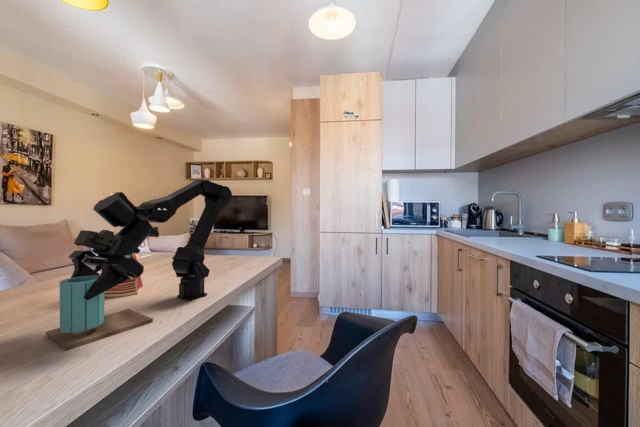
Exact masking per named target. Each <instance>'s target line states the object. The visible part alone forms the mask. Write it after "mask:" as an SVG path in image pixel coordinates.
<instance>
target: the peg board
mask: <svg viewBox="0 0 640 427" xmlns="http://www.w3.org/2000/svg"><path fill="white" fill-rule="evenodd" d="M153 322H154V318H152V317H150V316H148V315H146V314H143V313H140V312H138V311H135V310H132V309H130V308H128V309H125V310H121V311H117V312H113V313H109V314H106V315H105V314H104V322H103V323H102V324H101V325H99V326H97V327H94V328H91V329H88V330H85V331H79V332H73V333H72V332H71V333H65V332H61V331H60V327H57V328H54V329H50V330H46V331H45V335H46V337H48V338H49V339H51V340H52V341H53V342H55V343H56V344H57V345H58V346H59V347H61V348H62V349H64V350H65V351H69V350H72V349H75V348H77V347H80V346H83V345H87V344H89V343H93V342H95V341H99V340H102V339H105V338H108V337H111V336H114V335H117V334H120V333H124V332H125V331H126V332H127V331H129V330H132V329H133V330H134V329H136V328H139V327H141V326H144V325H148V324H151V323H153Z"/></svg>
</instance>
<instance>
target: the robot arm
mask: <svg viewBox="0 0 640 427" xmlns="http://www.w3.org/2000/svg"><path fill="white" fill-rule="evenodd" d="M199 196H202V197H204V200H203V201H204V205H205V206H204V209H203V211H202V213H201V215H200V217H199V220H198V221H197V223H196V226H195V227H194V229H193V232H192V234H191V237H190V238H189V240H188V242H187V244H186V245H185V246H178V247H177V248H176V251H175V254H174V255H173V256H172V258H171V259H172V262H171V266H172V269H173V271H174V272H175V276H176V278H180V283H179V284H178V294H177V298H179V299H180V298H181V299H184V300H187V301H192V300H196V299H198V298H202V297H205V296H208V293H207V292H205V279H206V278H208V277H209V274H210V271H211V270H210V269H209V267H207V265H206V264H205V263H204V262H205V252H204V251H205V250H204V248H205V246H206V243H207V241H208V240H209V237H210V236H211V233H212V231H213V230H212V229H213V227H214V225H215V223H216V221H217V218H218V217H219V214H220V212H221V211H223V209H225V208H226V207H227V206H228V205H229V203H230V201H231V199H232V197H233V194H232V190H231V189H230V187H228V186H227V185H222V184H220V183H215V182H212V181H211V180H209V179H206V178H202V179H201V178H199V179H194V180H193V181H192V182H190V183H189V184H187V185H185V186H183V187H181V188H179V189H178V190H176V191H173V192H172V193H170V194H168V195H165V196H162V197H159V198H153V199H150V200H147V201H144V202H142V203H141V204H139V205H138V206H136V205H135V204H133V202H132V201H130V199H128V197H127V196H126V194H125V193H124V192H122V191H116V192H115V193H114V194H112V195H109V196H107V197H105V198H104V199H100V200H99V201H98V202H97V203H95V205H94V206H93V211H94V212H95V213H96V214H98V215H99V216H100V217H101V218H102V219H103V220H105V221H106V223H108V224H109V225H110V226H111V227H113V228H119V227H120V228H121V229H120V230H119V231H118V232H117V233H114V231H111V230H109V229H102V230H100V231H99V232H98V231H92V230H86V229H85V230H80V232H79V233H78V235H77V237H76V239H74V242H73V244H74V245H76V246H83V247H87V248H89V249H92V250H88V249H87V250H86V249H76V250H74V251H73V252H72V253H70V254H69V255H68V259H70V260H71V263H73V267H74V270H73V272H72V274H71V276H70V278H74V277H80V276H89V275H100V276H99V277H98V278H97V280H96V281H95V282H94V283H93V285H92V286H91V287H90V289H89V290H88V291H87V293H86V294H85V296H84V299H86V300H90V299H92V298H93V297H95V296H97V295H99V294H101V293H103V292H105V291H106V290H108V289H110V288H112V287H114V286H116V285H118V284H120V283H122V282H124V281H127V280H128V281H129V280H130V278H137V279H138V278H139V277H140V276H141V275H143V274H144V272H145V268H144V265H143V264H142V263H141V262H140V261H139V262H138V261H137V260H136V259H134V258H133V257H132V256H131V255H132V254H133V253H136V254H138V255H139V253H140V252H141V249H140V247H141V245H143V243H144V242H145V240H146V239H147V238H149V237H151V238H159V237H160V232H159V227H158V226H153V225H152V224H151V223H153V224H154V223H155V224H157V223H158V224H163V223H166V222H168V221H170V219H172V218H173V216H175V215H176V213H177V211H178V210H179V208H181V207H182V206H184V205H185V204H187V203H189V202H190V201H193V199H195V198H197V197H199ZM100 271H101V272H100ZM98 272H100V273H98ZM128 276H129V277H130V278H129V277H128ZM141 277H142V276H141Z"/></svg>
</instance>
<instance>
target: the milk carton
mask: <svg viewBox="0 0 640 427" xmlns="http://www.w3.org/2000/svg"><path fill="white" fill-rule="evenodd" d="M131 256H132V257H133V258H134V259H136V260H137V261H138V262H139V263H140V261H139V260H140V259H139V253H138V254H136V253H133V254H132V255H131ZM128 277H129V276H128ZM129 278H130V277H129ZM142 280H143V279H142V276H140V277H139V278H138V279H137V278H130V280H129V281H128V280H127V281H124V282H122V283H120V284H118V285H116V286H114V287H112V288H110V289H108V290H106V291H105V292H104V298H107V297H108V298H110V297H111V298H115V297H127V296H133V295H138V294H139V292H140V291H142V290H143V289H144V285H143V281H142Z"/></svg>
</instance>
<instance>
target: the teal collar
mask: <svg viewBox="0 0 640 427" xmlns="http://www.w3.org/2000/svg"><path fill="white" fill-rule="evenodd" d="M100 275H101V274H100ZM100 275H89V276H80V277H74V278H71V277H70V278H65V279H63V280H60V281H59V328H60V331H61V332H65V333H71V332H72V333H73V332H79V331H85V330H88V329H91V328H94V327H97V326H99V325H101V324H102V323H103V322H104V316H105V297H104V292H103V293H101V294H99V295H97V296H95V297H93V298H92V299H90V300H86V299H84V296H85V294H86V293H87V291H88V290H89V289H90V287H91V286H92V285H93V283H94V282H95V281H96V280H97V278H98V277H99V276H100Z"/></svg>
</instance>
